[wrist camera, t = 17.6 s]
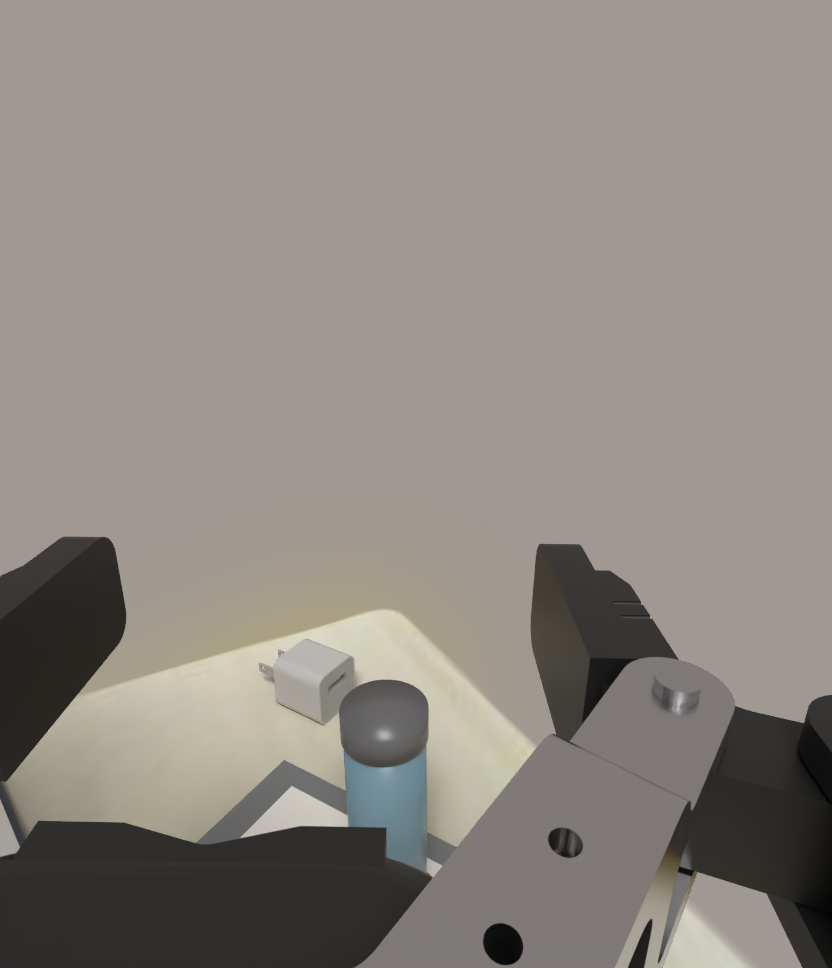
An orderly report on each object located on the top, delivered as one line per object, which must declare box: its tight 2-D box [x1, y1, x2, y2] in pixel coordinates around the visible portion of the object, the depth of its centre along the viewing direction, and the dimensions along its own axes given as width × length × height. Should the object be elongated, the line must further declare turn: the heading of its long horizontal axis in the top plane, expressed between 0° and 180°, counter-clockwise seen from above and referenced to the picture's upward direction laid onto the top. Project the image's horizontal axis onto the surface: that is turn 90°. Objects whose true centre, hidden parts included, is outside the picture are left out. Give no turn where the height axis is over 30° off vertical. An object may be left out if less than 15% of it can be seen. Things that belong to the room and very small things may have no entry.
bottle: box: [339, 680, 428, 873], centre depth 28 cm, size 4×4×12 cm
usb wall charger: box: [259, 639, 356, 725], centre depth 45 cm, size 4×7×4 cm, turn 58°
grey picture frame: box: [196, 760, 457, 877], centre depth 29 cm, size 19×14×1 cm
